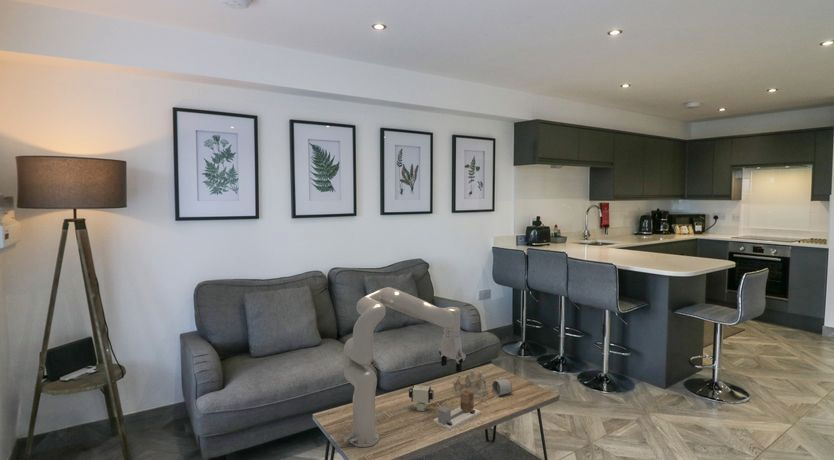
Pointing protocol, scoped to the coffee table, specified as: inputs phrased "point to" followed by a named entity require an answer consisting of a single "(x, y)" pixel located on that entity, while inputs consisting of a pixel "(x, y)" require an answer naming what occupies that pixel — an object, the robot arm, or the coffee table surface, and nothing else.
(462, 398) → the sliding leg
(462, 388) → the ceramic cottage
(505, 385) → the ceramic mug
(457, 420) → the board
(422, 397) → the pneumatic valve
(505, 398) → the coffee table surface
